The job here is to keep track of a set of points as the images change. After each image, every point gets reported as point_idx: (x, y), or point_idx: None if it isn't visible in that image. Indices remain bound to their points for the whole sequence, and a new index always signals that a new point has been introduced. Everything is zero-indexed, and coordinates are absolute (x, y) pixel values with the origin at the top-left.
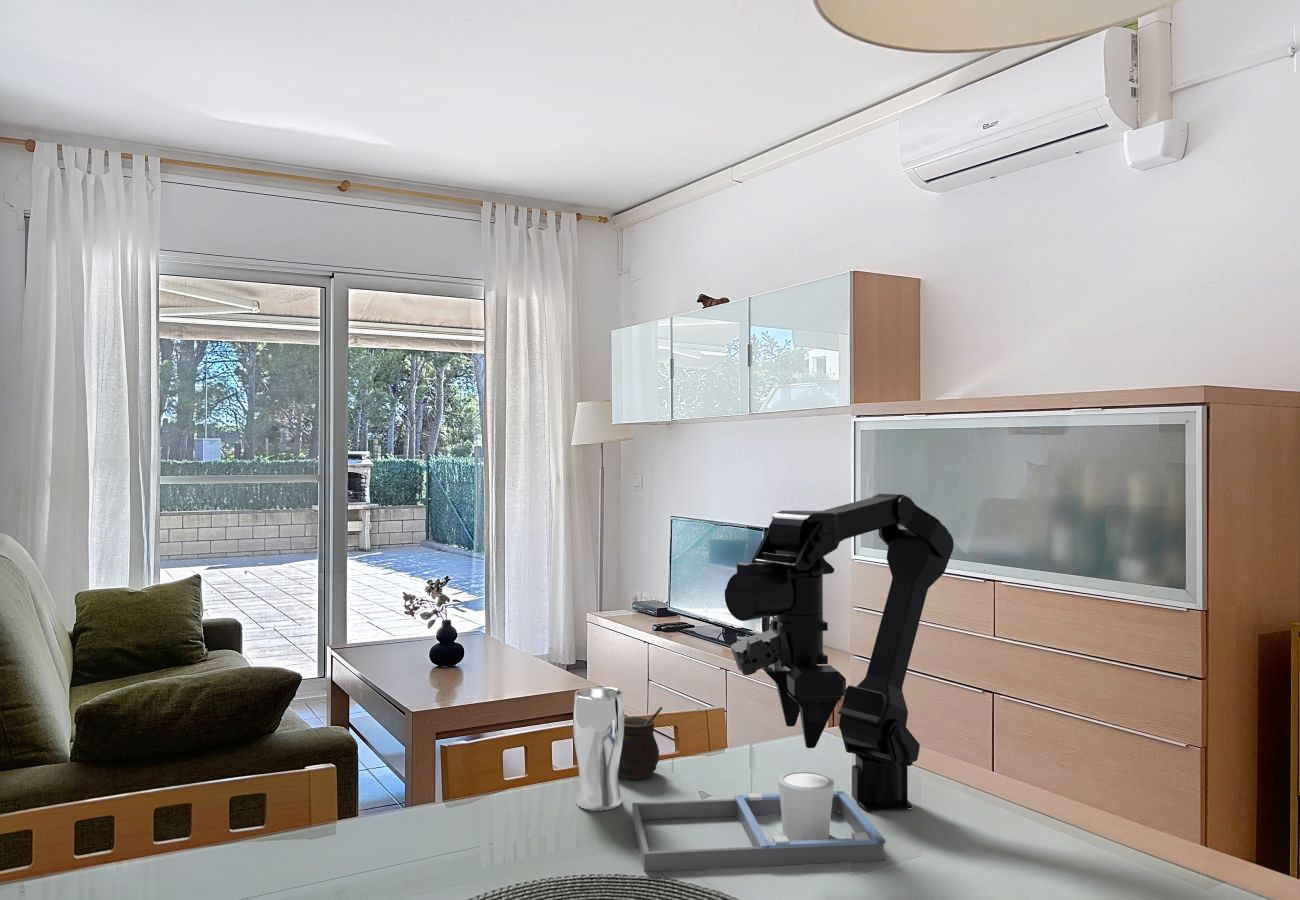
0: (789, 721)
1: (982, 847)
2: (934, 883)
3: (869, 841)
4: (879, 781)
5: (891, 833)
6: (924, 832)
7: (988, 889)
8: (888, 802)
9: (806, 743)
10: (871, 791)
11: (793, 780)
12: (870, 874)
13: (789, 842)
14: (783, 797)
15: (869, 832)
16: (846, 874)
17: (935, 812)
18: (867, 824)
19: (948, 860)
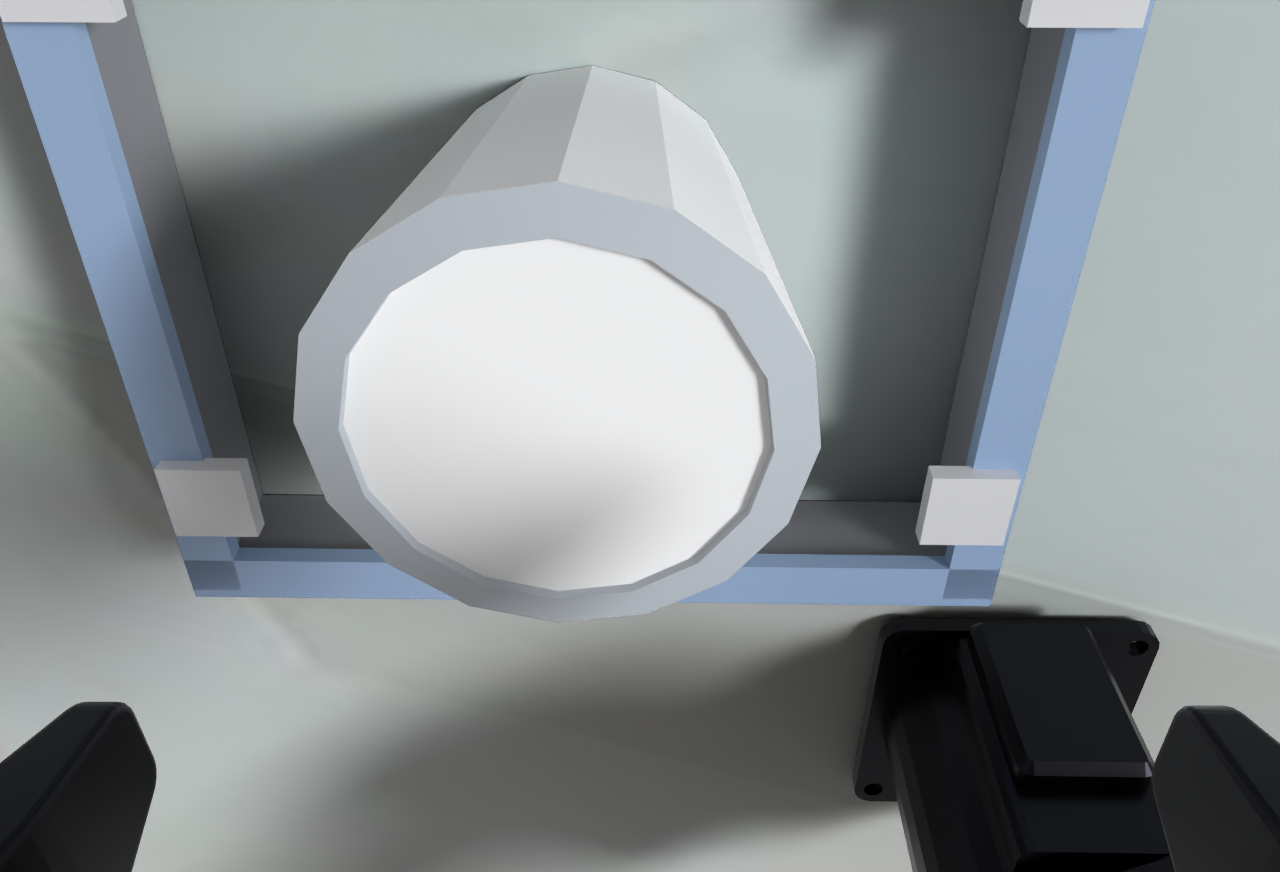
0: (1199, 789)
1: (416, 854)
2: (15, 622)
3: (171, 522)
4: (927, 802)
5: (586, 634)
6: (585, 744)
7: None
8: (887, 734)
9: (23, 749)
10: (949, 721)
11: (571, 331)
12: (52, 412)
13: (38, 25)
14: (468, 158)
15: (323, 556)
16: (22, 298)
17: (805, 836)
18: None
19: (275, 731)
